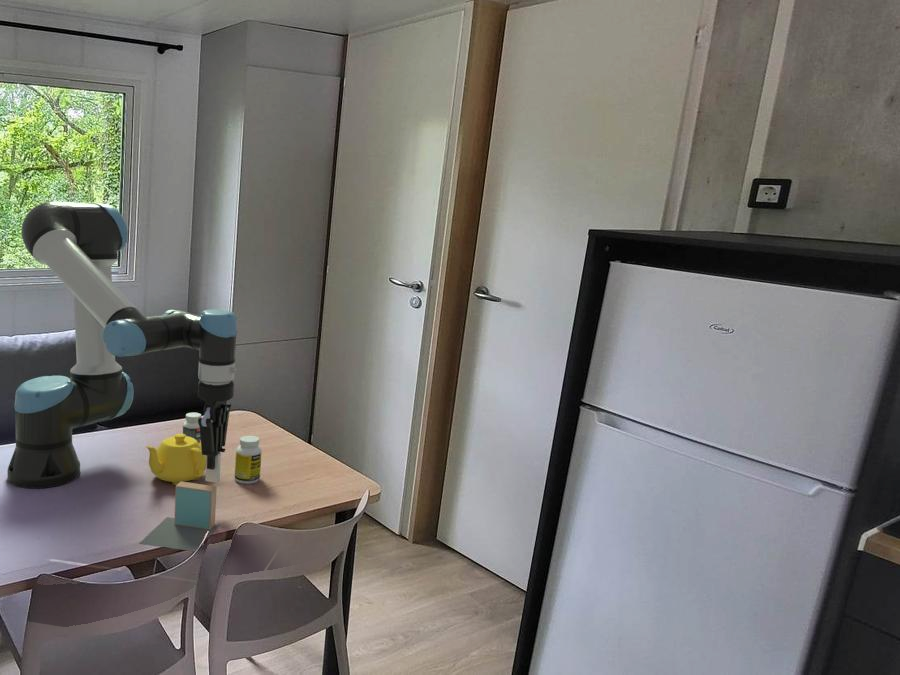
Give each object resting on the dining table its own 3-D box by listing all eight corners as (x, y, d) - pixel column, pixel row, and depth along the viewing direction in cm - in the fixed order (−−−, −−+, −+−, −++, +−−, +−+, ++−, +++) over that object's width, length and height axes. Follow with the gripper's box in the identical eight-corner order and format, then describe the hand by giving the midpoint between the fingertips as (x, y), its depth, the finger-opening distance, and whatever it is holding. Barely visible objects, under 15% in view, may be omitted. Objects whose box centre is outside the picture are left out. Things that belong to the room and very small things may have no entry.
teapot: (168, 501, 165) (169, 455, 162) (125, 483, 171) (126, 438, 169) (233, 476, 182) (235, 433, 179) (192, 460, 189) (194, 419, 186)
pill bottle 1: (198, 449, 196) (199, 418, 194) (179, 447, 196) (180, 416, 194) (204, 442, 201) (206, 412, 199) (186, 440, 201) (187, 410, 199)
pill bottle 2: (252, 486, 177) (255, 444, 175) (229, 482, 178) (232, 440, 176) (264, 477, 183) (266, 436, 181) (242, 473, 184) (244, 432, 182)
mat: (139, 545, 145) (139, 543, 145) (166, 518, 157) (166, 517, 157) (196, 553, 144) (196, 551, 144) (219, 526, 156) (219, 524, 156)
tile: (174, 524, 154) (175, 486, 152) (179, 519, 156) (180, 481, 154) (210, 530, 153) (211, 491, 151) (214, 524, 156) (216, 486, 154)
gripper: (221, 390, 150) (217, 494, 155) (243, 375, 163) (239, 471, 168) (186, 386, 151) (183, 489, 155) (211, 371, 163) (208, 467, 168)
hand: (212, 480), depth 162 cm, fingers closed
